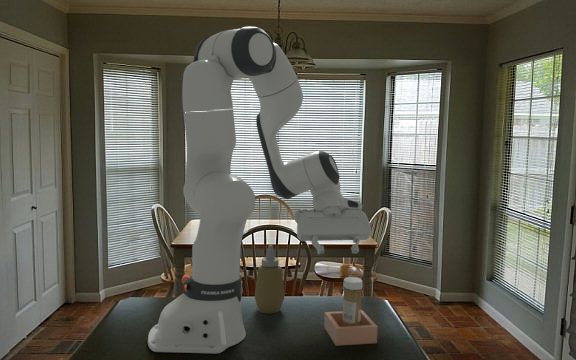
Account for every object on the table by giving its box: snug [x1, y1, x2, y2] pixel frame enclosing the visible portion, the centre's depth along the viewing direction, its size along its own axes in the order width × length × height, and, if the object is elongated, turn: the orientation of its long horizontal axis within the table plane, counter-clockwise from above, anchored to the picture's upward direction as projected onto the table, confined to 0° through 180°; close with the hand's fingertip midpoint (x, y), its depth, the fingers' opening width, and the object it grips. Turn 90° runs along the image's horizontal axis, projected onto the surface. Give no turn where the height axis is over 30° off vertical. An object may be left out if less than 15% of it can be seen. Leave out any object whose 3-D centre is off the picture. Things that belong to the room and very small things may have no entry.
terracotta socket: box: [323, 309, 378, 347], centre depth 113 cm, size 10×10×4 cm
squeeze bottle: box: [254, 244, 285, 315], centre depth 126 cm, size 8×8×18 cm
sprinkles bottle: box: [342, 276, 364, 327], centre depth 113 cm, size 5×5×14 cm
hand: (338, 252), depth 122 cm, fingers open, 8 cm apart
